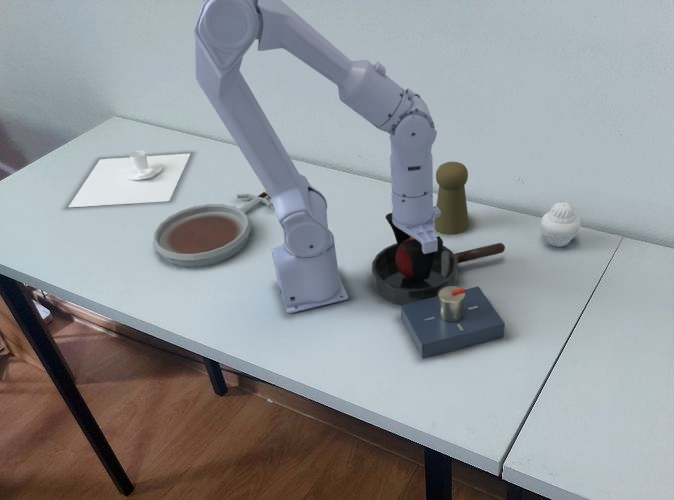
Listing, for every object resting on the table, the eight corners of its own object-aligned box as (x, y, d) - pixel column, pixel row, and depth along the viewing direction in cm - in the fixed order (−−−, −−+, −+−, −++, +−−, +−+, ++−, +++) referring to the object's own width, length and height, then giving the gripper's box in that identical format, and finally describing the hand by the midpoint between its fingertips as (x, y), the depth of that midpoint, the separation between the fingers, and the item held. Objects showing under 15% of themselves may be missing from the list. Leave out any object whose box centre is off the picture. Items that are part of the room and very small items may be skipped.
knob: (444, 324, 90) (444, 302, 87) (434, 309, 93) (434, 287, 90) (468, 318, 91) (469, 296, 88) (458, 303, 93) (459, 281, 91)
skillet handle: (453, 266, 102) (454, 258, 100) (450, 260, 103) (450, 252, 102) (506, 253, 103) (507, 245, 102) (502, 248, 104) (502, 240, 103)
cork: (459, 237, 110) (460, 177, 102) (427, 229, 112) (426, 170, 105) (475, 219, 113) (477, 160, 106) (443, 212, 116) (443, 154, 109)
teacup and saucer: (157, 182, 132) (151, 163, 129) (118, 184, 132) (111, 166, 130) (167, 162, 138) (161, 143, 136) (130, 164, 139) (124, 146, 136)
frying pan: (309, 189, 121) (200, 265, 104) (311, 203, 123) (204, 280, 106) (241, 169, 128) (129, 237, 112) (244, 183, 130) (135, 252, 114)
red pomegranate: (431, 290, 99) (430, 246, 94) (393, 288, 100) (391, 244, 95) (436, 268, 103) (435, 224, 98) (399, 266, 105) (397, 222, 99)
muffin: (585, 238, 107) (591, 200, 102) (565, 256, 104) (571, 218, 99) (551, 226, 110) (556, 189, 105) (531, 243, 107) (535, 205, 102)
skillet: (388, 314, 96) (387, 298, 94) (363, 266, 106) (362, 251, 104) (470, 294, 99) (471, 278, 96) (439, 248, 108) (439, 233, 106)
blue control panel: (422, 358, 89) (421, 343, 87) (401, 318, 96) (400, 304, 94) (503, 336, 91) (505, 322, 89) (477, 299, 98) (478, 284, 96)
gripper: (458, 206, 87) (457, 288, 96) (421, 159, 97) (423, 237, 106) (408, 217, 86) (411, 299, 95) (376, 168, 96) (381, 246, 105)
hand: (414, 267), depth 100 cm, fingers closed on red pomegranate, 6 cm apart
